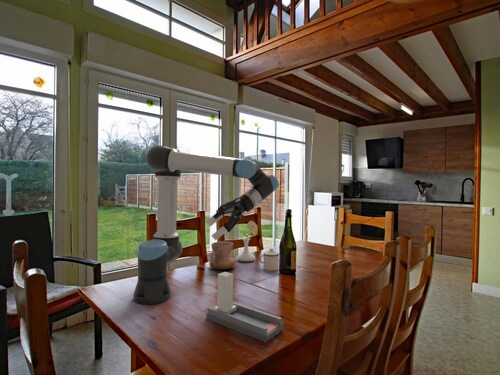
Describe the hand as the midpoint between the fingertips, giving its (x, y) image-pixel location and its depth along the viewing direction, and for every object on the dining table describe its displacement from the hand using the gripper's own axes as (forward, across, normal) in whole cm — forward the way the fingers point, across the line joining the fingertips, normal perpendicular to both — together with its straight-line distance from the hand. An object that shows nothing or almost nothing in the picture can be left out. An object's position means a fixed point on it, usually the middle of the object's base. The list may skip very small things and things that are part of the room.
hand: (210, 231), depth 121 cm
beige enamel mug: (-19, +57, -14) cm, 62 cm away
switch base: (+13, +1, -35) cm, 37 cm away
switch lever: (+15, +4, -27) cm, 31 cm away
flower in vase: (-16, +70, +2) cm, 72 cm away
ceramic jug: (+1, +55, +4) cm, 55 cm away
